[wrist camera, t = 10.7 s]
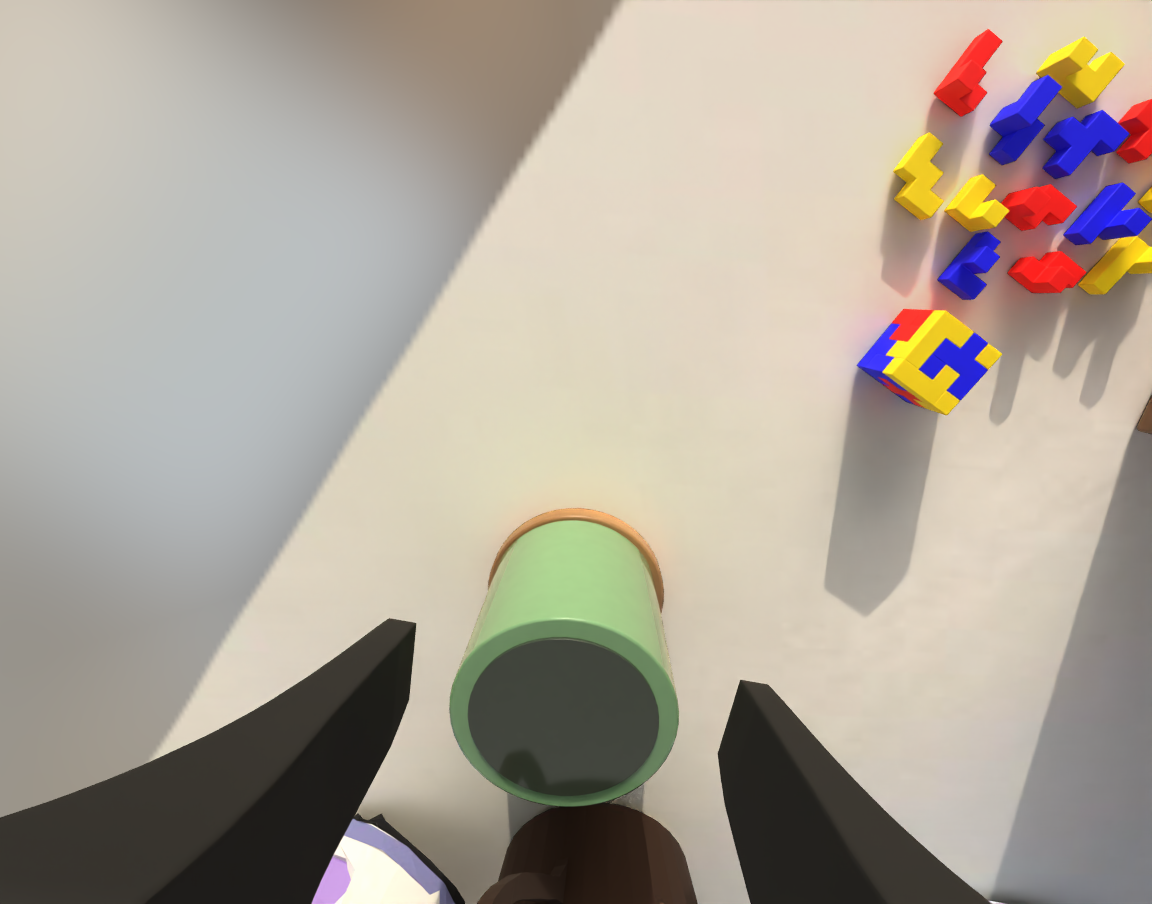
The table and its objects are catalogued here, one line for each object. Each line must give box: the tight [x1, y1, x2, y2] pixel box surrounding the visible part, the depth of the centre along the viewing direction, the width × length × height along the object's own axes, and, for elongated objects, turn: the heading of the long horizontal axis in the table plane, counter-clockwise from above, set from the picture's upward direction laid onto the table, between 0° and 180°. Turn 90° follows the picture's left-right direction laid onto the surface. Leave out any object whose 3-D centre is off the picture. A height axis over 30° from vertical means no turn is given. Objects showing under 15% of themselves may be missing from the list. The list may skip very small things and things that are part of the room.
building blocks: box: [857, 29, 1152, 415], centre depth 12 cm, size 6×8×2 cm
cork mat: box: [488, 508, 664, 612], centre depth 15 cm, size 5×5×1 cm
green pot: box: [449, 520, 679, 807], centre depth 13 cm, size 5×5×5 cm
